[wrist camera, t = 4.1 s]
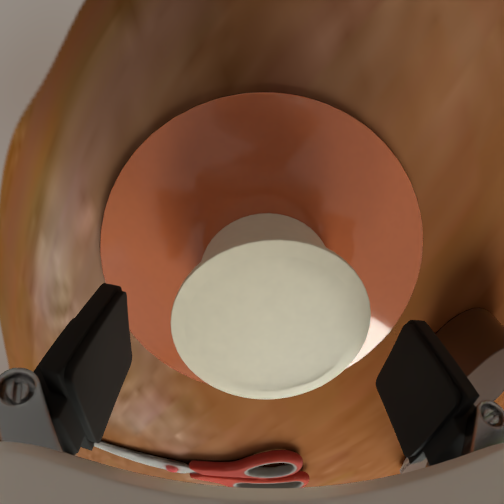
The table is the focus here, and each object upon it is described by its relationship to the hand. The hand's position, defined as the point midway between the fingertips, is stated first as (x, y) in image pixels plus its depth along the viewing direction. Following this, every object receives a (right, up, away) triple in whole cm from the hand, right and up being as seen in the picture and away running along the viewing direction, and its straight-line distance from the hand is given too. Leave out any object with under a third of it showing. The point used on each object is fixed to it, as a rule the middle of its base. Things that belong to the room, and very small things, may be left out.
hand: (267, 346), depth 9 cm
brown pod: (+13, -4, +7) cm, 15 cm away
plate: (0, +2, +4) cm, 4 cm away
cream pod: (0, +2, +4) cm, 4 cm away
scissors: (-6, -16, +12) cm, 20 cm away
